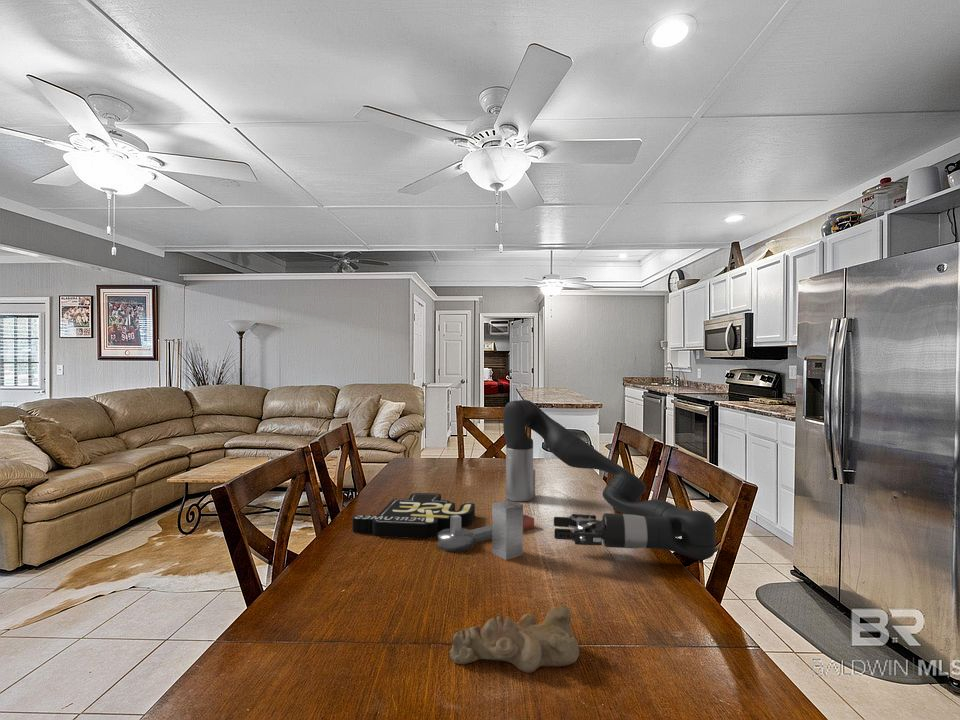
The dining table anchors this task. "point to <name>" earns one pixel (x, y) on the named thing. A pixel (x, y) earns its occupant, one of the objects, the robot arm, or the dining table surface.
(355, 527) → the sign
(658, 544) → the robot arm
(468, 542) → the ratchet
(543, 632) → the figurine
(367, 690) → the dining table surface
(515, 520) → the brushed aluminum block
